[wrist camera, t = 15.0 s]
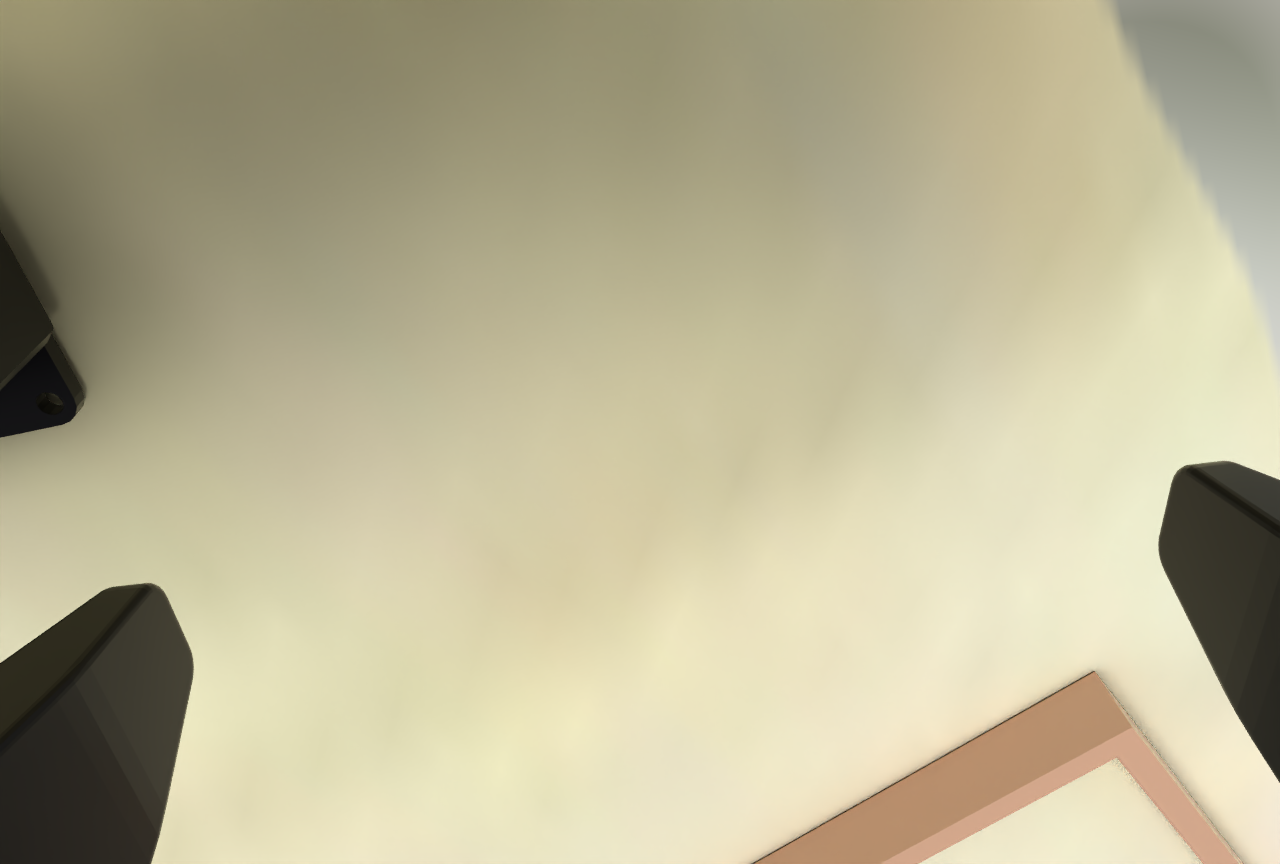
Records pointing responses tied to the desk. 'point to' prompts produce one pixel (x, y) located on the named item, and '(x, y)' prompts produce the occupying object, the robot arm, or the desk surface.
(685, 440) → the desk surface
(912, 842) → the pink square frame
